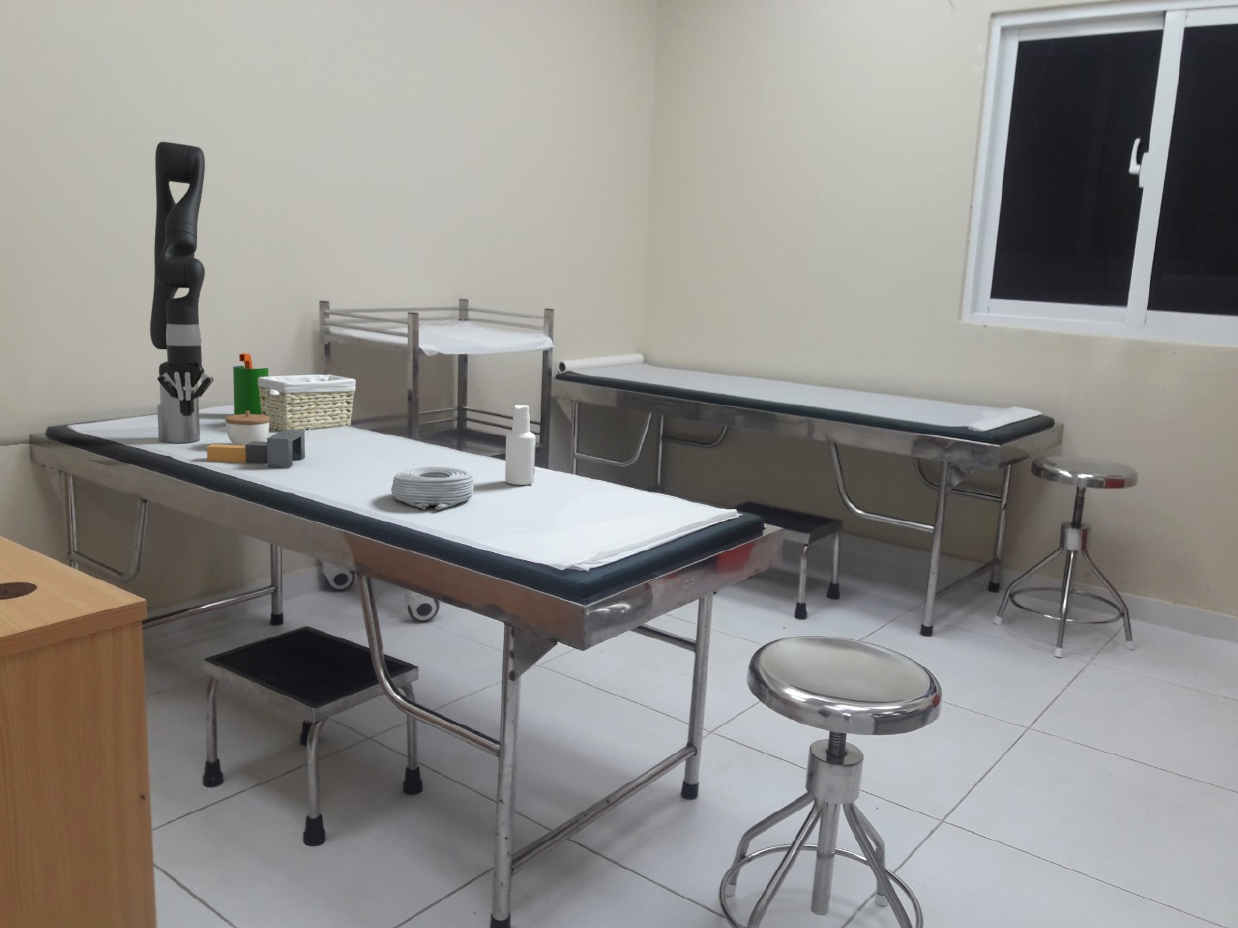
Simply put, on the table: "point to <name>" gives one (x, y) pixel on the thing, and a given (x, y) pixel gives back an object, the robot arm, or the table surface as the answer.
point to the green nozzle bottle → (247, 386)
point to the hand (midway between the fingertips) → (187, 415)
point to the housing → (285, 448)
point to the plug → (239, 453)
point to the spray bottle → (520, 449)
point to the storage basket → (306, 401)
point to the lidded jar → (247, 428)
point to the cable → (433, 486)
